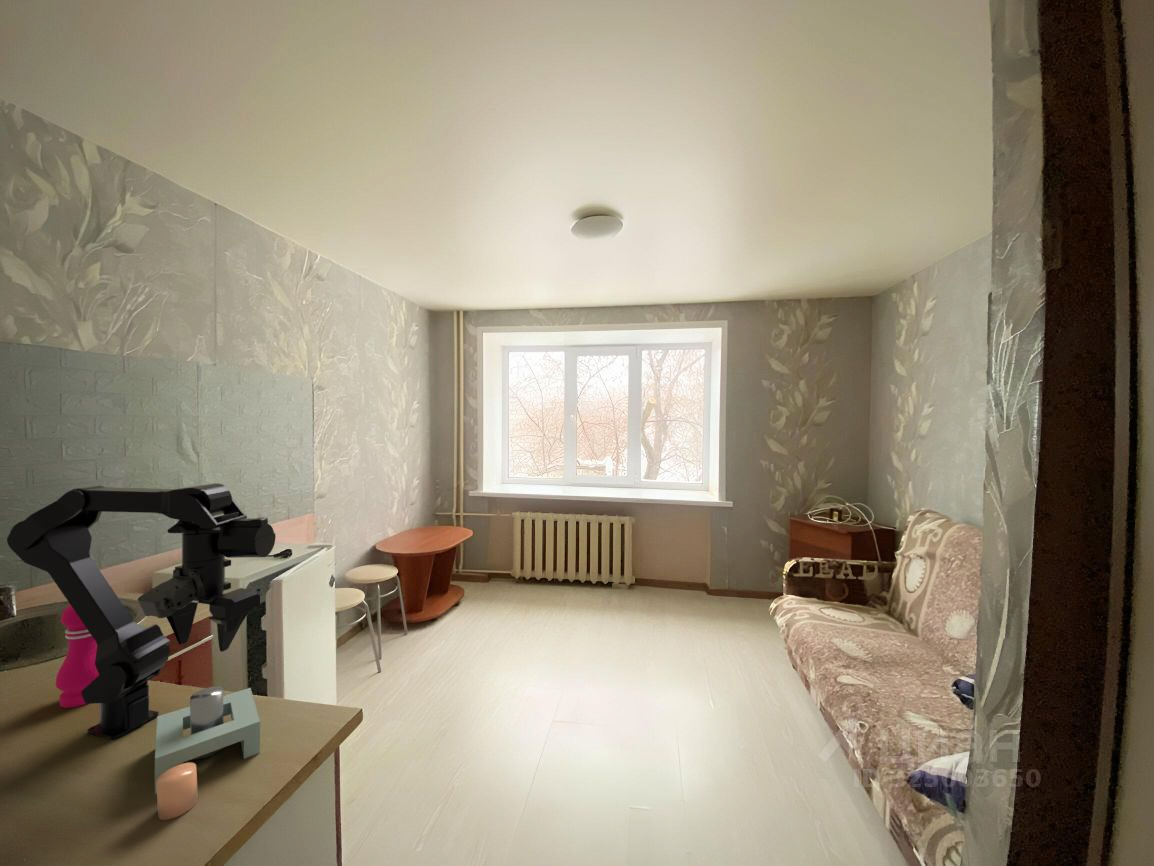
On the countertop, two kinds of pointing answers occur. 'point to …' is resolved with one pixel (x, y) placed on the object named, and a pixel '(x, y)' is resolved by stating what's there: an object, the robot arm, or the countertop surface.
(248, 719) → the slate pin jig
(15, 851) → the countertop surface
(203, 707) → the steel pin
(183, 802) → the terracotta stub
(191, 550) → the robot arm
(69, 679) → the pepper mill
